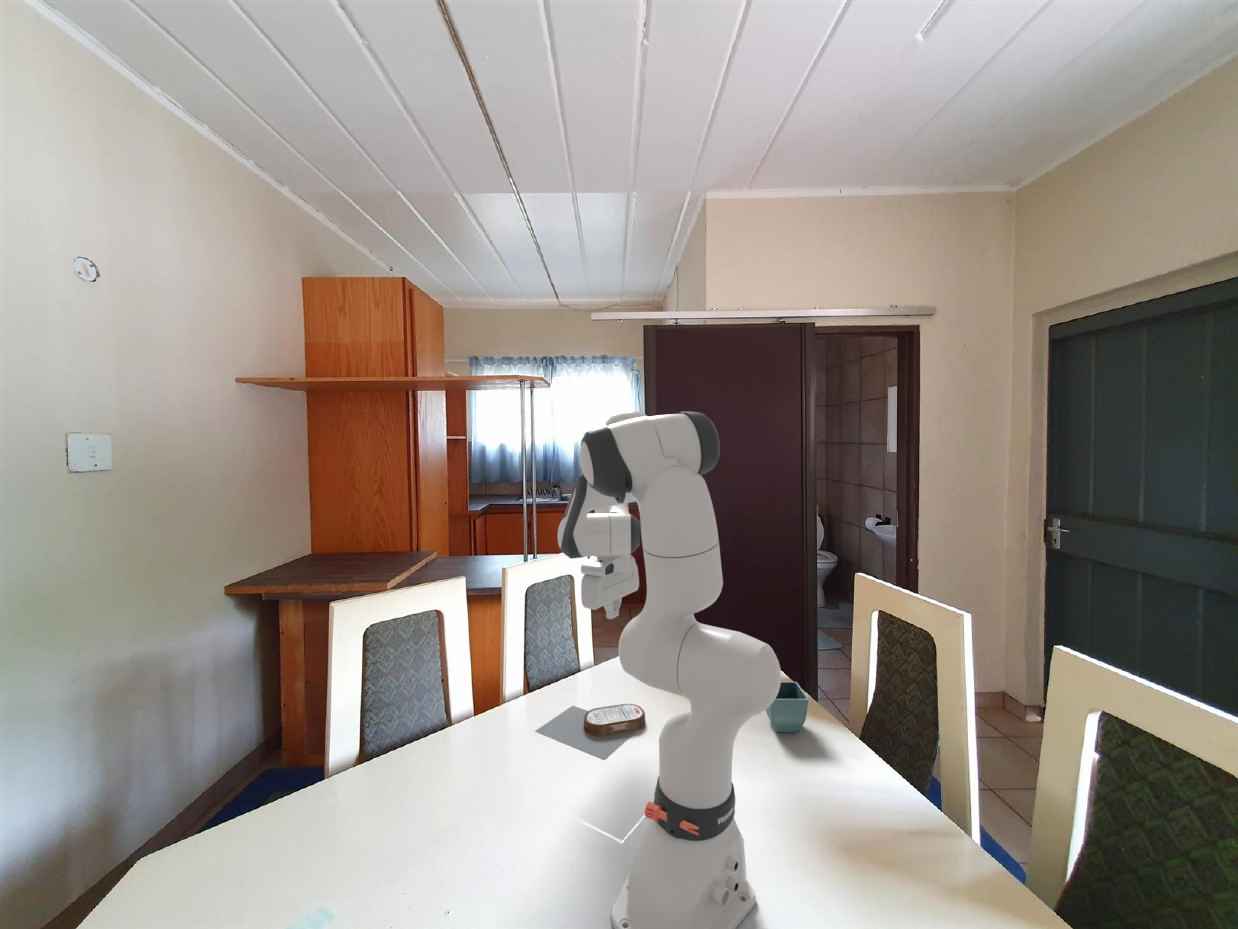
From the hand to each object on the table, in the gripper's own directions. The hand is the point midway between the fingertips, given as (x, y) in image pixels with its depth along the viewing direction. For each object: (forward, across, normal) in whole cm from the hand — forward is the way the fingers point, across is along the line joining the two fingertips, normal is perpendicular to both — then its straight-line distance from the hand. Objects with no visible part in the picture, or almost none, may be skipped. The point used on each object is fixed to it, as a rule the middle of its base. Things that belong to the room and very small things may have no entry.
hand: (612, 617), depth 122 cm
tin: (+23, 0, -1) cm, 23 cm away
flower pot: (+25, -19, +36) cm, 48 cm away
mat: (+25, +8, -2) cm, 26 cm away
